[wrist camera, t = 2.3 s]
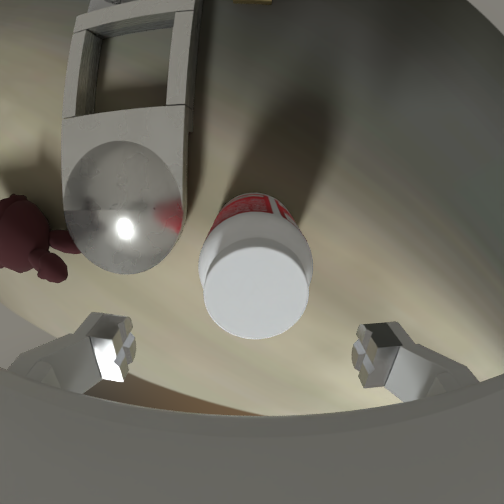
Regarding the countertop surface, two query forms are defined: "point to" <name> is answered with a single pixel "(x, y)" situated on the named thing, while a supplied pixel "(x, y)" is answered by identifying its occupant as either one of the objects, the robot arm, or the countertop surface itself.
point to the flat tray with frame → (128, 141)
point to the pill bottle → (255, 268)
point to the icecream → (31, 240)
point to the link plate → (253, 1)
